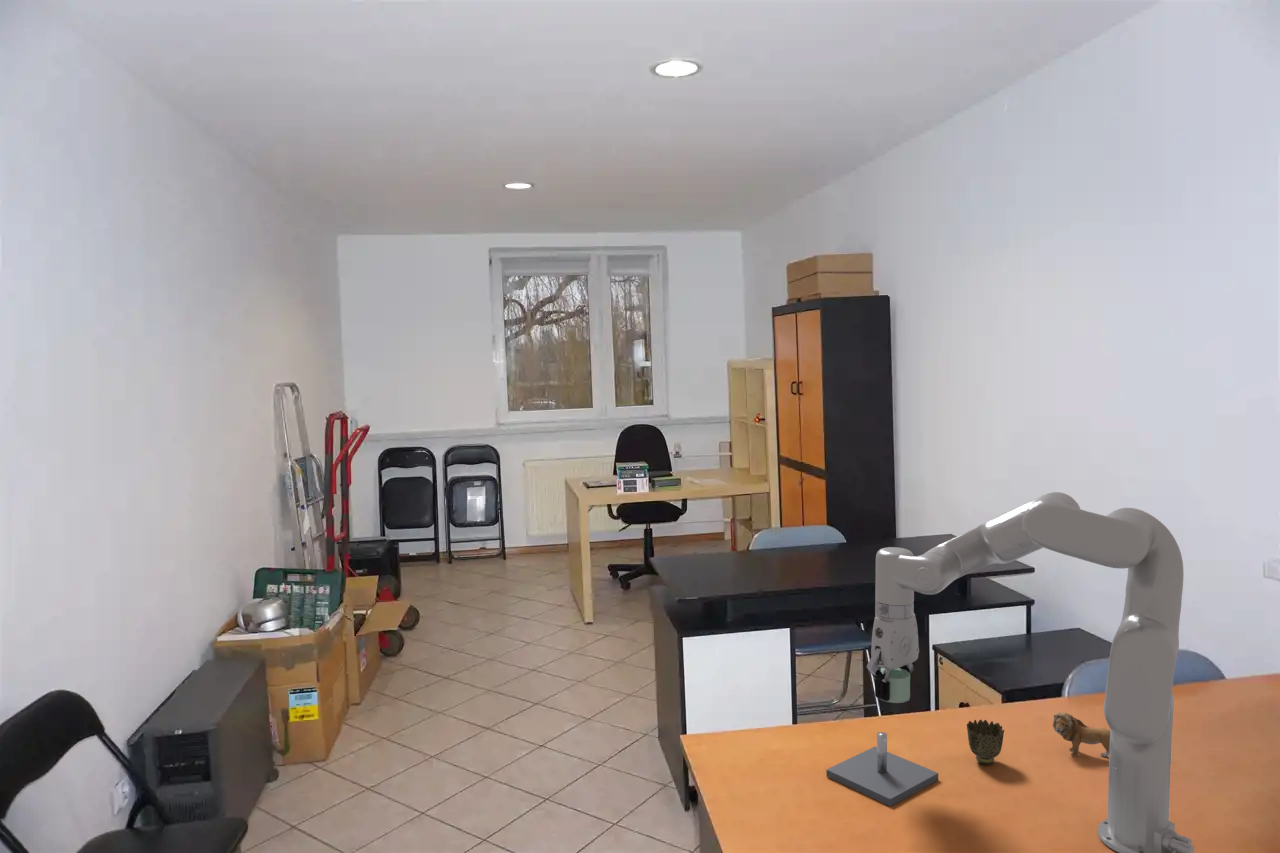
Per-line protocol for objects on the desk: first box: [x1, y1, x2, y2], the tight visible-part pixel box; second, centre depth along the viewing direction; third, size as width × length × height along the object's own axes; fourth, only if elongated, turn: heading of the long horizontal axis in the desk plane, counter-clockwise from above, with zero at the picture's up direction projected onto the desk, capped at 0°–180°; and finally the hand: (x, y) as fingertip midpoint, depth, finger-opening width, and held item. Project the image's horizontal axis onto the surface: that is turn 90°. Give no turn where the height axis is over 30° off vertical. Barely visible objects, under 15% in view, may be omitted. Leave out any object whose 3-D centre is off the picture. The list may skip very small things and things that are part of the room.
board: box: [825, 746, 939, 807], centre depth 186 cm, size 16×16×2 cm
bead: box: [878, 668, 911, 704], centre depth 184 cm, size 6×6×5 cm
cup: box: [966, 719, 1005, 766], centre depth 192 cm, size 8×7×8 cm
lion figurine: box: [1052, 711, 1110, 758], centre depth 193 cm, size 15×5×9 cm, turn 66°
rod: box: [876, 731, 888, 774], centre depth 186 cm, size 2×2×8 cm
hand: (893, 693), depth 184 cm, fingers closed on bead, 6 cm apart
